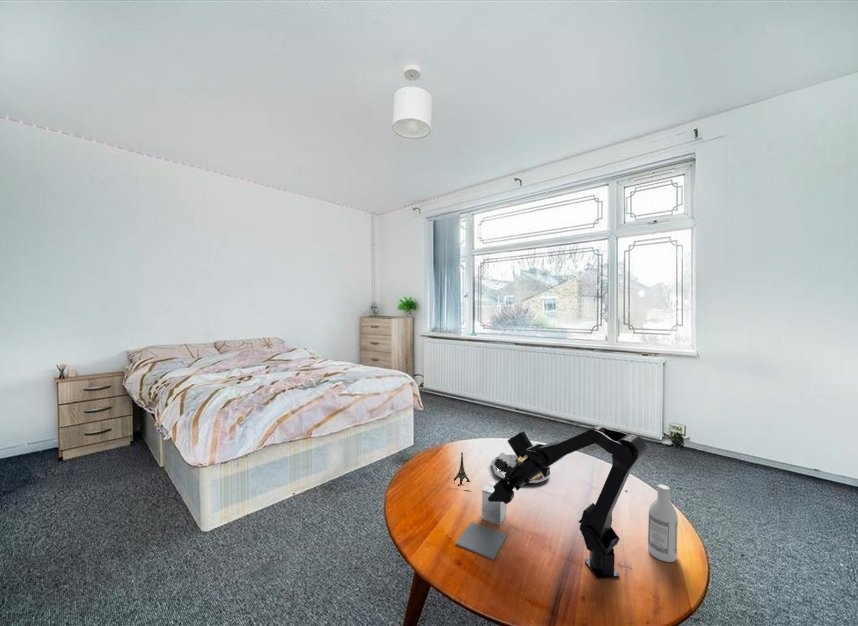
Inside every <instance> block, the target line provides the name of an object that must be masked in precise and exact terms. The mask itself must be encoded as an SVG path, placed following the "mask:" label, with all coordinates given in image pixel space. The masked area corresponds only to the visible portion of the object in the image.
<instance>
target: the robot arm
mask: <svg viewBox="0 0 858 626" xmlns="http://www.w3.org/2000/svg"><path fill="white" fill-rule="evenodd" d="M507 444H509V446H510V448H511V449H512V451H513V453H514V455H516V456H517V457H518V458H519V457H521V458H524V457H526V456H527V458H526V459H525V460H523V461H522V462H521V461H520V462H514V461H513V460H512V459H511V458H510V457H508V456H507V455H508V454H506V453H504V452H501V453H500V454H499V455H498V456H497V457H498V458H497V459H496V461H495V463H494V465H495V466H496V467H497V468H498V469H499V470H501V471H502V472H503V471H504V472H503V473H504V474H503V475H505V477H504V478H500V479H498V480H497V482H496V484H495V485H494V486H493V487H494V490H495V491H494V492H493V493H492V494H491V495H490V496H489V498H488V500H489V502H504V503H505V504H507V505H508V504H509V503H511V502H512V500H513V499H514V498H515V492H514V489H515V490H516V491H519V490H520V489H521V487H522V486H524V485H525V484H526V485H528V484H530V483H529V482H530V480H531V479H532V478H534V477H535V476H537V475H538V474H540V473H542V474H543V476H544V477H547V476H549V477H550V475H551V471H550V470H551V466H552V465H554V464H555V463H557V462H559V461H561V460H562V459H563V458H564V457H566V456H567V455H569V454H572V453H574V452H577V451H578V450H582V449H584V448H586V447H587V448H588V447H590V446H591V445H593V444H595V445H597V446H599V447H600V448H602V449H603V450H604V451H606V452H607V453H609V454H610V455H611V468H610V470H609V473H608V475H607V476H606V479H605V482H604V484H603V486H602V488H601V490H600V493H599V495H598V497H597V500H596V502H595V503H594V502H592V503H591V504H589V505H588V506H587V507H586V508H585V509H584V510H583V511H582V515H581V519H580V520H578V521H577V522H578V523H580V524H579V531H580V532H581V535H582V537H583V540H584V544H585V546H586V550H588V551H589V558H584V563H586V566H588V568H589V570H590V571H591V572H592V573H593V574H594V576H595V577H596V578H597V579H607V578H608V579H610V578H620V573H619V571H618V570H617V569H616V568H615V562H616V561H615V557H616V555H615V550H614V549H615V547H616V546H617V545H618V543H619V541H620V537H619V535H618V534H617V533H616V532H615V530H614V529H613V527H612V523H613V511H614V508H615V507H616V504H617V502H618V499H619V498H620V496H621V493H622V491H623V489H624V487H625V484H626V482H627V480H628V477H629V475H630V474H631V472H632V470H633V469H634V468H635V467H636V465H637V464H638V463H639V462H640V461H641V460H642V458H643V457H644V455H645V454H646V453H647V450H648V446H647V444H646V442H645V440H644V439H643V438H642V437H640V436H639V435H637V434H632V433H631V434H628V433H625V432H623V431H620V430H617V429H616V430H615V429H611V428H607V427H605V426H603V425H601V424H600V425H594V426H592V427H590V428H589V429H587V430H586V431H583V432H580V433H579V434H576V435H574V436H572V437H569V438H567V439H564V440H563V441H562V440H561V441H554V442H549V443H545V444H542V443H536V444H534V445H533V443H532V442H531V441H530V438H529V437H528V436H527V434H526V432H525V431H523V430H522V431H520V432H518V433H517V434H516V435H514V436H512V437H510V438H509V439H508V440H507ZM505 472H506V473H505Z"/></svg>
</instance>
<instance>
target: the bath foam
mask: <svg viewBox="0 0 858 626" xmlns="http://www.w3.org/2000/svg"><path fill="white" fill-rule="evenodd" d="M670 491H671V488H670V487H669V486H668V485H665V484H663V483H662V484H661V483H660V484H658V485H657V497H656V498H655V499H654V500H653V501H652V502H651V504H650V505H649V508H648V525H647V526H648V529H647V530H648V531H647V550H648V552H649V554H651V555H652V556H653V557H654V558H656V559H657V560H660V561H663V562H664V563H673V562H675V561H676V560H677V554H678V553H677V551H678V523H679V522H678V513H677V510H676V509H675V507H674V505H673V503H672V502H671V501H670V500H671V499H670V495H671V492H670Z"/></svg>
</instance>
